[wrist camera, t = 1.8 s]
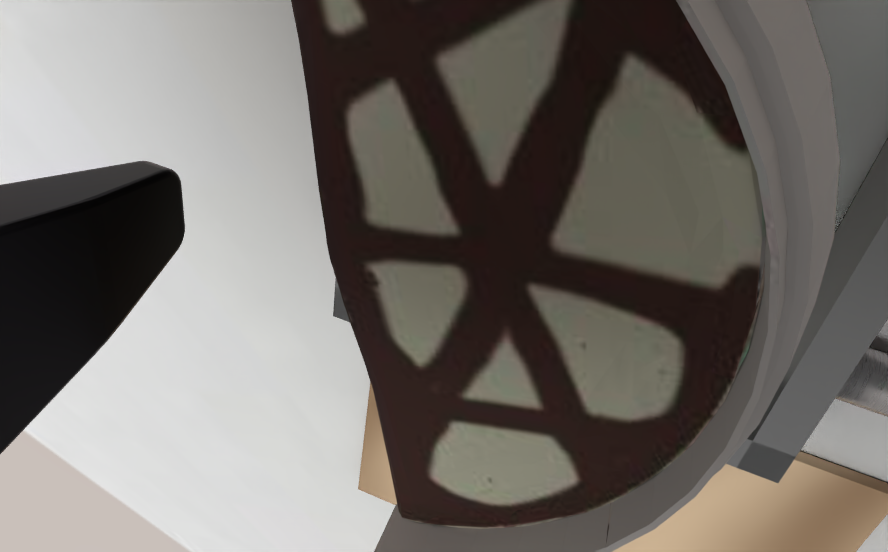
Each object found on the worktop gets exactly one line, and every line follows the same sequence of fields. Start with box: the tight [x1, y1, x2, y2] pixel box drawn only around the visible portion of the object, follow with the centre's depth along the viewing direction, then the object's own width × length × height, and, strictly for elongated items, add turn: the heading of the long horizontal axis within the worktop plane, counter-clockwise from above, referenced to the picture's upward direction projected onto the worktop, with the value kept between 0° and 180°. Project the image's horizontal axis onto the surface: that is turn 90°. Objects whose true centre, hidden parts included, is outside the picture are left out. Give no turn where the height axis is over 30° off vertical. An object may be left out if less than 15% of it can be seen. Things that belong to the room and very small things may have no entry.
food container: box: [291, 0, 840, 552], centre depth 12 cm, size 12×6×10 cm, turn 7°
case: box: [333, 139, 888, 483], centre depth 15 cm, size 12×17×2 cm
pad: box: [358, 382, 888, 552], centre depth 24 cm, size 15×9×1 cm, turn 81°
